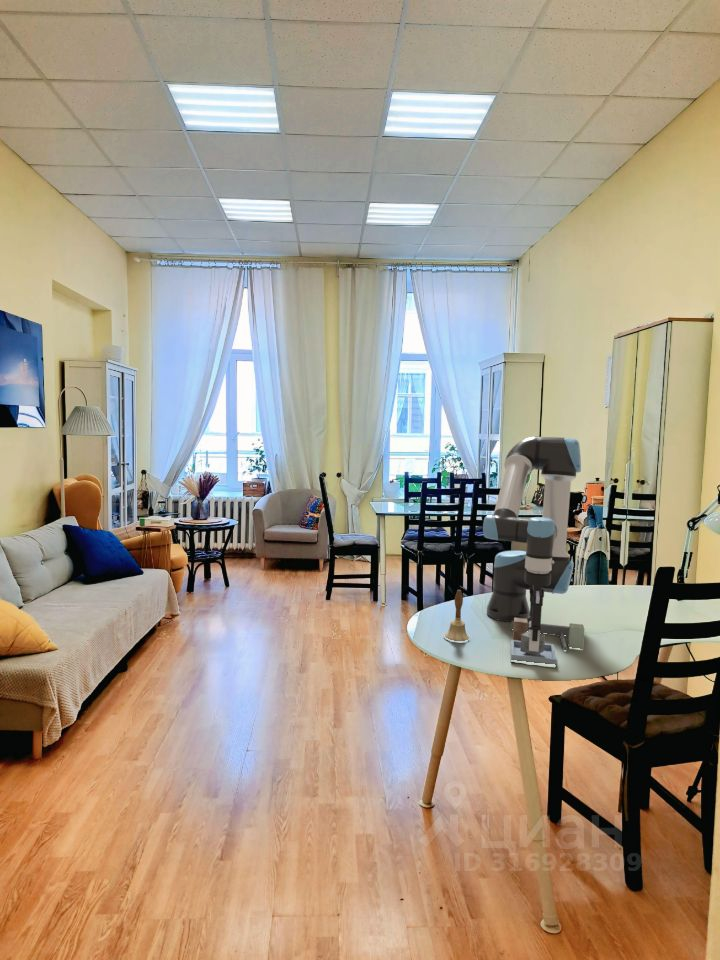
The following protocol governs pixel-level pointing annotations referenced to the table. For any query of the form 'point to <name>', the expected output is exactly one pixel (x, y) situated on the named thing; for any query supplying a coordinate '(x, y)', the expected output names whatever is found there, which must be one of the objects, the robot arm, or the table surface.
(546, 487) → the robot arm
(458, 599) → the hand bell
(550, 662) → the slate tray
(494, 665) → the table surface
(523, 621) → the walnut block
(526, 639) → the dice cube
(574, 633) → the sage block
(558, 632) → the grey bar frame
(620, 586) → the table surface
